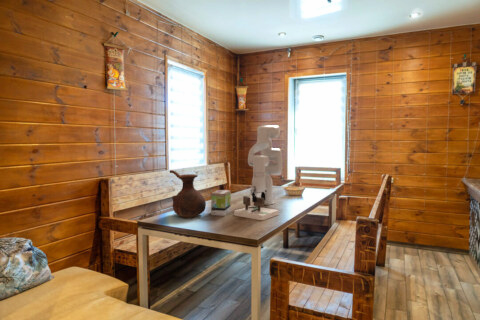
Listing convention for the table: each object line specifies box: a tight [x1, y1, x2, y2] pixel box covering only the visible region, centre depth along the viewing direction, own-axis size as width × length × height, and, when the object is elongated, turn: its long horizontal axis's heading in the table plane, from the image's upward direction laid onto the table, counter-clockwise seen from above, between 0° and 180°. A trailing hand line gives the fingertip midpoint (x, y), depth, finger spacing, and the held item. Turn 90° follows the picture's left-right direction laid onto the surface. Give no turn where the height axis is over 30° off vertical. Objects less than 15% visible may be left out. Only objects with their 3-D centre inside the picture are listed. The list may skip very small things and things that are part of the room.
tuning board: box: [233, 205, 279, 221], centre depth 207 cm, size 19×22×3 cm
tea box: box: [210, 189, 232, 217], centre depth 212 cm, size 15×10×15 cm
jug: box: [169, 169, 207, 219], centre depth 205 cm, size 22×22×30 cm
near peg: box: [251, 196, 265, 212], centre depth 202 cm, size 9×7×8 cm
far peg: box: [242, 195, 258, 210], centre depth 210 cm, size 9×7×8 cm
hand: (258, 201), depth 204 cm, fingers open, 9 cm apart
